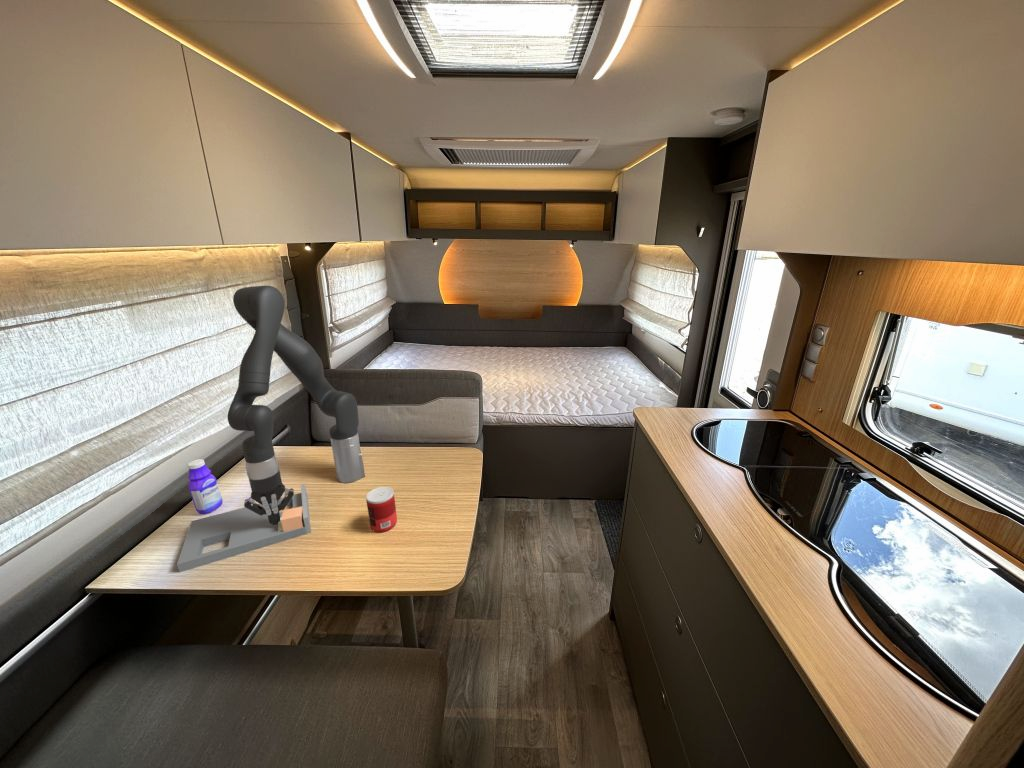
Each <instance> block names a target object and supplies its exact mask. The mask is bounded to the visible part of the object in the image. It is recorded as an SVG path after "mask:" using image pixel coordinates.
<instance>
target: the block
mask: <svg viewBox="0 0 1024 768" xmlns="http://www.w3.org/2000/svg"><path fill="white" fill-rule="evenodd" d="M282 512H283V514H282V518H281V523H282V527H283V531H284V532H285V531H290V530H294V529H298V528H303V523H304V519H303V509H302V506H301V507H296V508H293V507H291V508H287V509H284V510H282Z"/></svg>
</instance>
